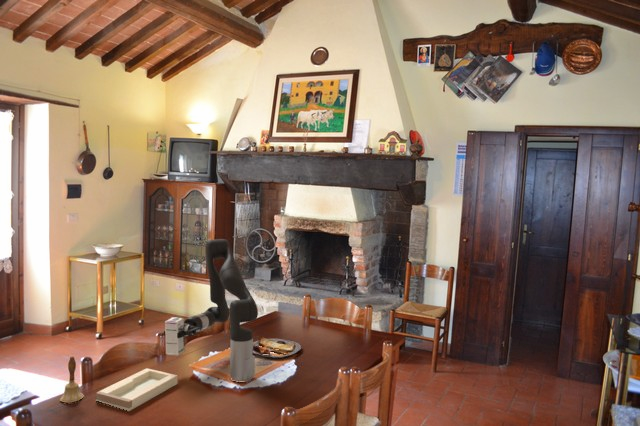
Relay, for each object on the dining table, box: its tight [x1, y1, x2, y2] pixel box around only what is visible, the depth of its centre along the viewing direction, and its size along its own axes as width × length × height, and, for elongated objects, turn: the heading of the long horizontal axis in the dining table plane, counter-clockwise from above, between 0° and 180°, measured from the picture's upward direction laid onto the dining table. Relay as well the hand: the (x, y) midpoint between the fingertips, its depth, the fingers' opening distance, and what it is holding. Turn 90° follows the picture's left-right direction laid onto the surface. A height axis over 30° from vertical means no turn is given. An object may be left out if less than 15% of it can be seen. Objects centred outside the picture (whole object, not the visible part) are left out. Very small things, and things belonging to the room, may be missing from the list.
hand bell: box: [59, 356, 85, 402], centre depth 187 cm, size 8×8×16 cm
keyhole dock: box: [95, 367, 178, 412], centre depth 194 cm, size 26×16×4 cm, turn 156°
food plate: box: [253, 337, 302, 358], centre depth 243 cm, size 25×23×4 cm
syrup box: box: [164, 316, 185, 356], centre depth 212 cm, size 6×6×14 cm
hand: (171, 334), depth 210 cm, fingers closed on syrup box, 6 cm apart
